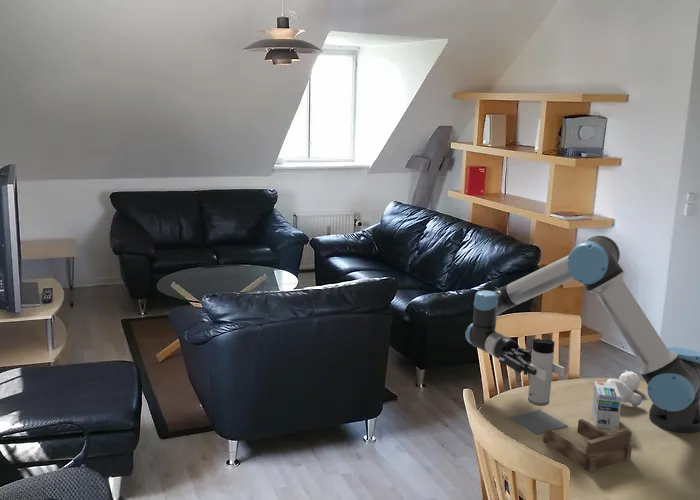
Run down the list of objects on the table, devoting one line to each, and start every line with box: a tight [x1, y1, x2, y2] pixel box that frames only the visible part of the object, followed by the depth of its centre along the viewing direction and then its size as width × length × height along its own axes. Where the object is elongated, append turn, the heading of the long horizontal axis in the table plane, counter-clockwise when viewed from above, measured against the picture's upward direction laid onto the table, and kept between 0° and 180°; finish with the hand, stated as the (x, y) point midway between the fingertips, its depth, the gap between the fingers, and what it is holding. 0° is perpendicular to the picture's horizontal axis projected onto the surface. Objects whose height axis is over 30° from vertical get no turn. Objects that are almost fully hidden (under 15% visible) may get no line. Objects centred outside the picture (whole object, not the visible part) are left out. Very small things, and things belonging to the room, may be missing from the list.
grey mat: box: [509, 409, 568, 436], centre depth 213 cm, size 12×12×1 cm
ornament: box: [618, 369, 641, 392], centre depth 236 cm, size 6×7×7 cm
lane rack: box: [542, 418, 633, 473], centre depth 195 cm, size 18×15×8 cm
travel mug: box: [527, 338, 555, 407], centre depth 209 cm, size 6×7×20 cm
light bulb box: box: [591, 380, 622, 431], centre depth 213 cm, size 11×7×11 cm, turn 169°
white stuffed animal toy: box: [605, 378, 643, 409], centre depth 225 cm, size 6×8×12 cm
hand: (554, 374), depth 204 cm, fingers closed on travel mug, 6 cm apart
